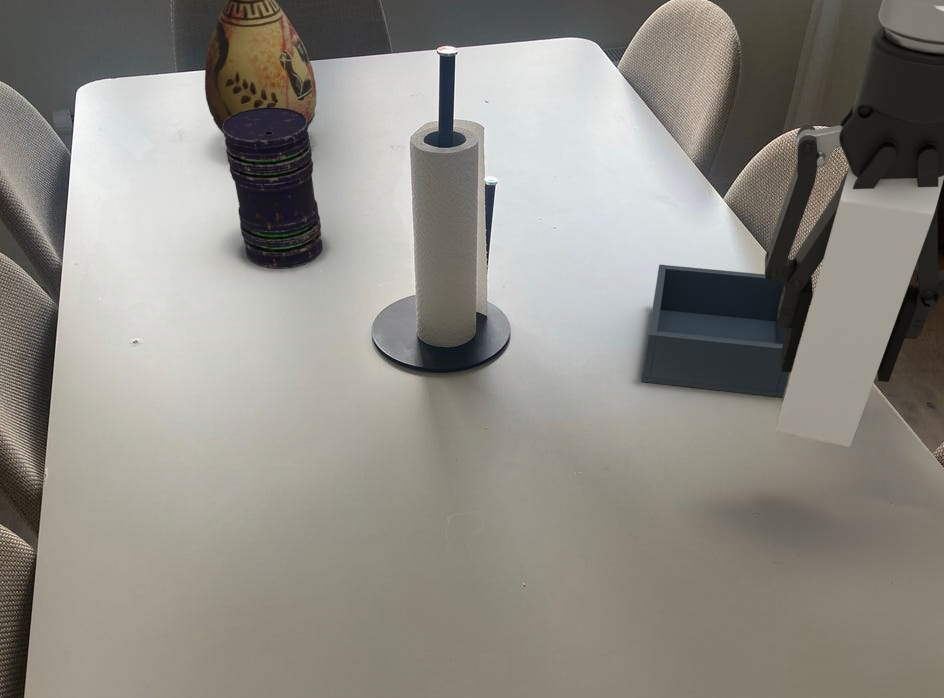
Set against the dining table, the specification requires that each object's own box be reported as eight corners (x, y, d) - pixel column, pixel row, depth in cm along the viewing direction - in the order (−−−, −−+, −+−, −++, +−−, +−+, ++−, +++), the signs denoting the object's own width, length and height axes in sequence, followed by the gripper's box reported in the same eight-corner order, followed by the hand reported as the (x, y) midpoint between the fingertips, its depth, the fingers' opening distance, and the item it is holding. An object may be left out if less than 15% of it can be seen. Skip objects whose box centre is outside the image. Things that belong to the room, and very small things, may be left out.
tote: (781, 323, 107) (794, 276, 103) (782, 397, 98) (796, 349, 93) (652, 310, 109) (659, 264, 105) (641, 381, 100) (648, 334, 96)
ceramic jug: (317, 173, 134) (285, -88, 111) (208, 173, 134) (155, -87, 111) (329, 125, 145) (302, -122, 122) (229, 125, 145) (184, -121, 122)
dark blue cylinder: (240, 236, 122) (216, 112, 110) (315, 226, 123) (300, 102, 112) (251, 274, 115) (226, 146, 104) (330, 262, 117) (314, 135, 106)
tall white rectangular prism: (849, 448, 75) (954, 164, 58) (773, 432, 77) (853, 150, 60) (858, 405, 79) (959, 126, 62) (785, 391, 80) (864, 114, 64)
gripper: (773, 46, 56) (705, 381, 73) (1131, 63, 53) (971, 408, 70) (773, 6, 60) (709, 329, 78) (1101, 19, 58) (958, 352, 75)
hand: (833, 366), depth 74 cm, fingers closed on tall white rectangular prism, 7 cm apart
